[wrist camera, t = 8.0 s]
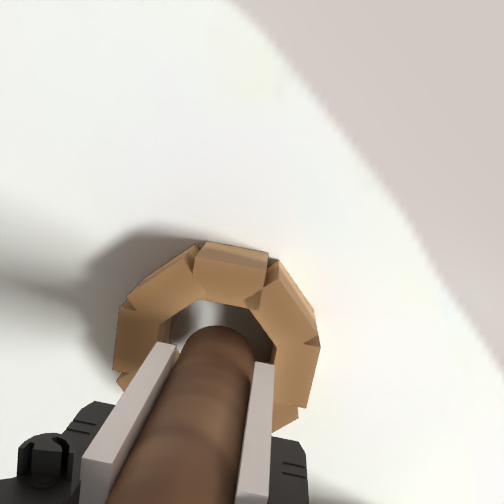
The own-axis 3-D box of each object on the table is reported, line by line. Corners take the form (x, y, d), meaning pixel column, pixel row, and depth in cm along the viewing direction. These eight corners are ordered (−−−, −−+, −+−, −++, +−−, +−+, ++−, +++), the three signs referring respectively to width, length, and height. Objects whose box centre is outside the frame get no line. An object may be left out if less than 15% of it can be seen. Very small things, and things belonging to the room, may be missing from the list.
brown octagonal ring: (127, 390, 23) (105, 425, 20) (148, 229, 21) (126, 243, 18) (291, 423, 23) (292, 463, 20) (328, 264, 21) (336, 283, 18)
